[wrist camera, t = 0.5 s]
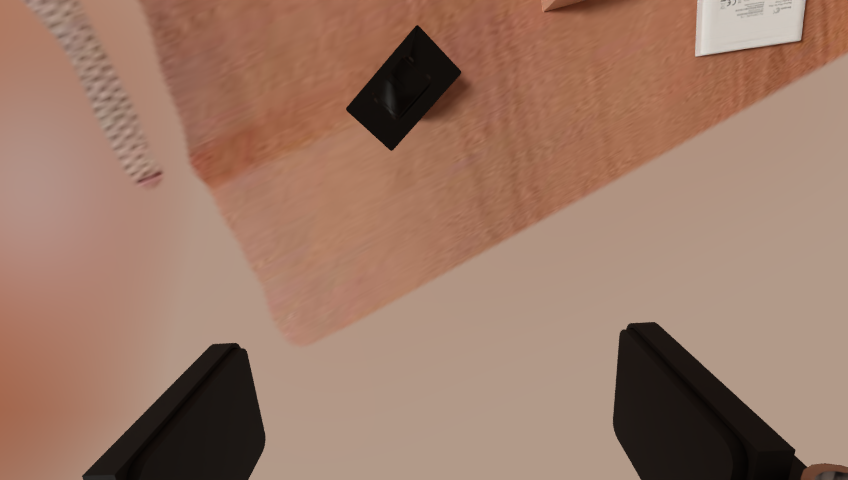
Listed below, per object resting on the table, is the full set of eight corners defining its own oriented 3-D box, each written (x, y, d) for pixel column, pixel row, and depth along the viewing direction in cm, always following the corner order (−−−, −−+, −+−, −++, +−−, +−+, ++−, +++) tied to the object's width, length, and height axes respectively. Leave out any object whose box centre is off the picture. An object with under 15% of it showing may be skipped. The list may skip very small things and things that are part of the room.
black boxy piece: (423, 5, 35) (421, -12, 30) (482, 67, 36) (489, 60, 32) (330, 115, 38) (317, 114, 33) (389, 169, 39) (383, 176, 34)
